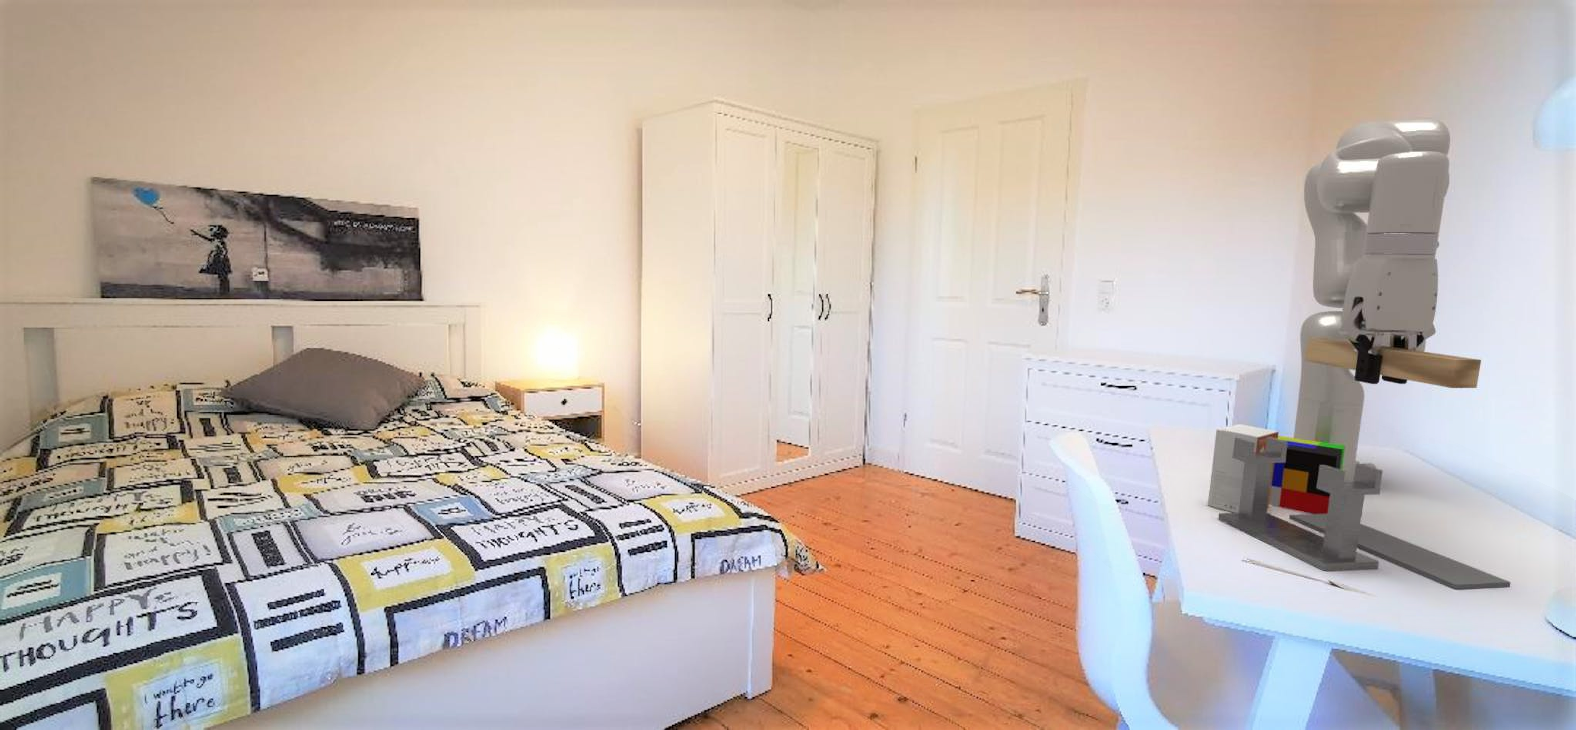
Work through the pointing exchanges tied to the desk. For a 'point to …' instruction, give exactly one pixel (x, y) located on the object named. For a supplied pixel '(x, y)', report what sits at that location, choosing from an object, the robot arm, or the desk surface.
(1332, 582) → the silver long thin piece
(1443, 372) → the rail
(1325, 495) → the puzzle toy
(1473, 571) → the mat
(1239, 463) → the small box
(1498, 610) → the desk surface
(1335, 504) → the rack
